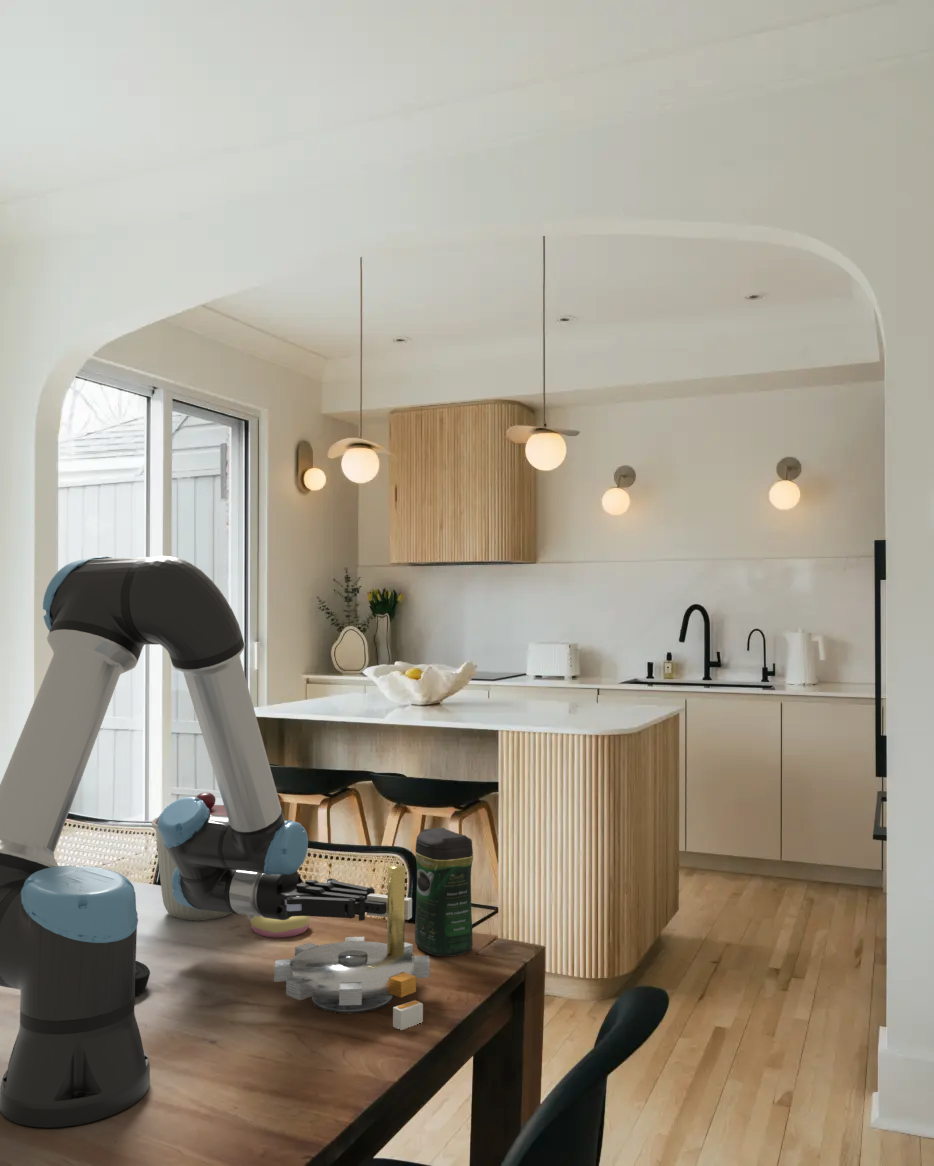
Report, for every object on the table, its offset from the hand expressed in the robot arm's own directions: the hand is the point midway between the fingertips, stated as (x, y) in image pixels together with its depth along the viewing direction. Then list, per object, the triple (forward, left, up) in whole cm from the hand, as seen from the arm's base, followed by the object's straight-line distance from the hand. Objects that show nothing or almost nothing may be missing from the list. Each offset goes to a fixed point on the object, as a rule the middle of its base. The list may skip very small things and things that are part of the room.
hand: (409, 909), depth 140 cm
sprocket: (-7, +5, -8) cm, 12 cm away
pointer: (-12, -6, -11) cm, 17 cm away
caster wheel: (-18, +38, -11) cm, 44 cm away
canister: (+18, +49, -11) cm, 54 cm away
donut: (+15, +31, -11) cm, 36 cm away
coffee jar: (+17, +2, -11) cm, 20 cm away
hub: (-7, +5, -11) cm, 14 cm away
